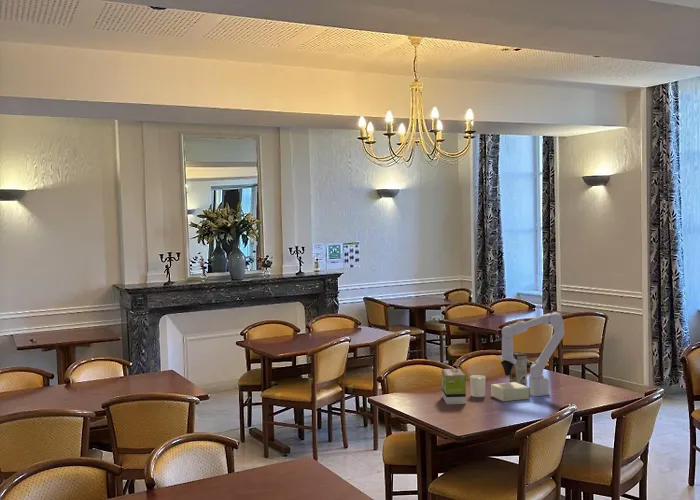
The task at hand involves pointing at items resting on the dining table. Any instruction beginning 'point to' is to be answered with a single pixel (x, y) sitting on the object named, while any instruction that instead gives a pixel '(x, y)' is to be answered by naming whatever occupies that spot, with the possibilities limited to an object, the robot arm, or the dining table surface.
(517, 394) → the door
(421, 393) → the dining table surface
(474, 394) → the white cup
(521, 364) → the coffee box
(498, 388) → the cabinet
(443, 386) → the tea box
